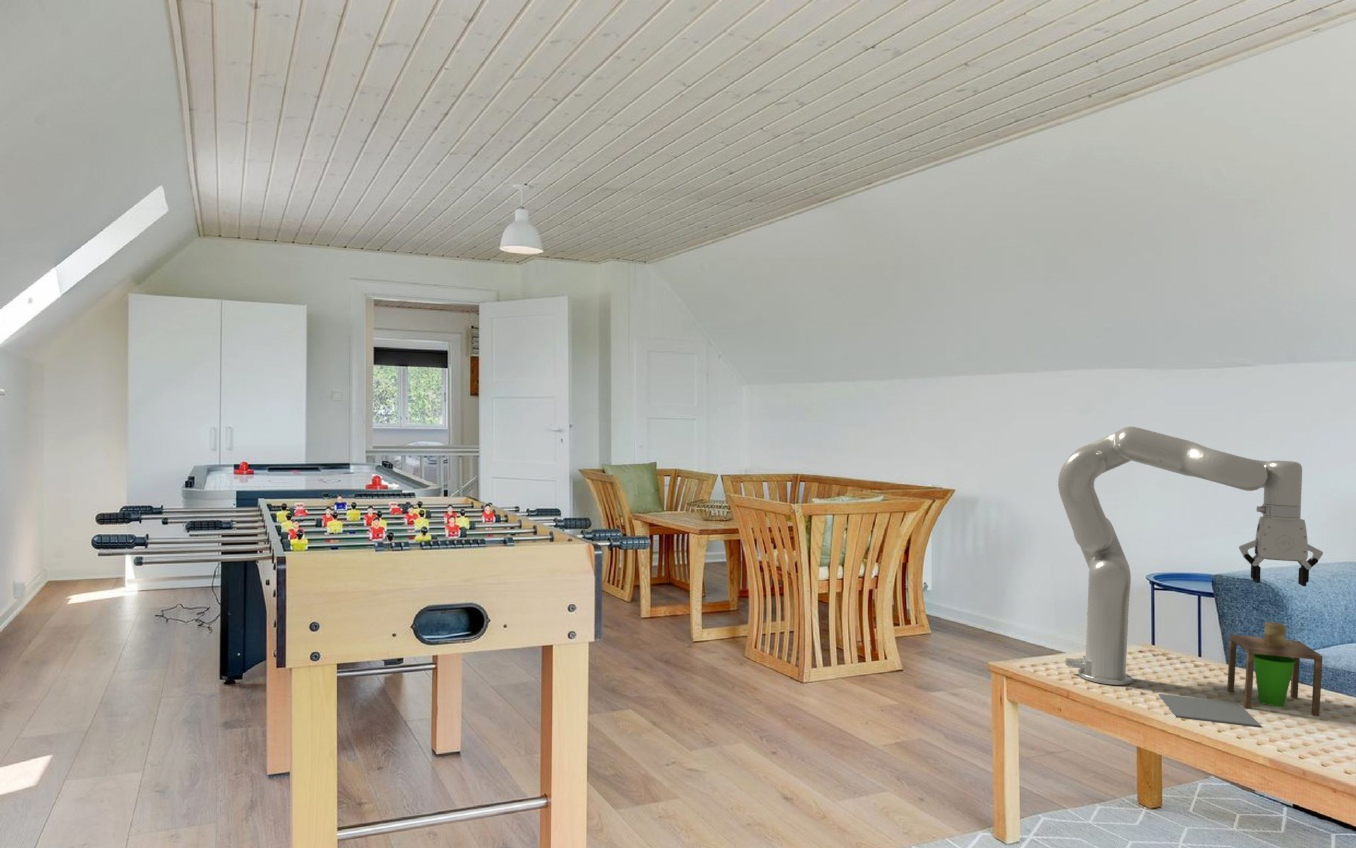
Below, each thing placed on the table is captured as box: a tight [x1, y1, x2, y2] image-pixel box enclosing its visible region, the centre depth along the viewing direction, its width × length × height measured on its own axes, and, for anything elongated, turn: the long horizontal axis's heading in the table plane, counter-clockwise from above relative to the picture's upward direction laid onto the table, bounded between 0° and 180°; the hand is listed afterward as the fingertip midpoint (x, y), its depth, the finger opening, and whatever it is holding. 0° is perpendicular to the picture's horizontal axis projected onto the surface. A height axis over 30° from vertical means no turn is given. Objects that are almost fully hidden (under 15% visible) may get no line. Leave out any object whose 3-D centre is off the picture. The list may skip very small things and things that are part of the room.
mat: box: [1158, 693, 1262, 728], centre depth 214 cm, size 17×17×1 cm
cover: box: [1226, 621, 1324, 717], centre depth 222 cm, size 15×15×19 cm
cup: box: [1254, 654, 1296, 707], centre depth 222 cm, size 9×9×11 cm
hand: (1279, 583), depth 221 cm, fingers open, 9 cm apart
